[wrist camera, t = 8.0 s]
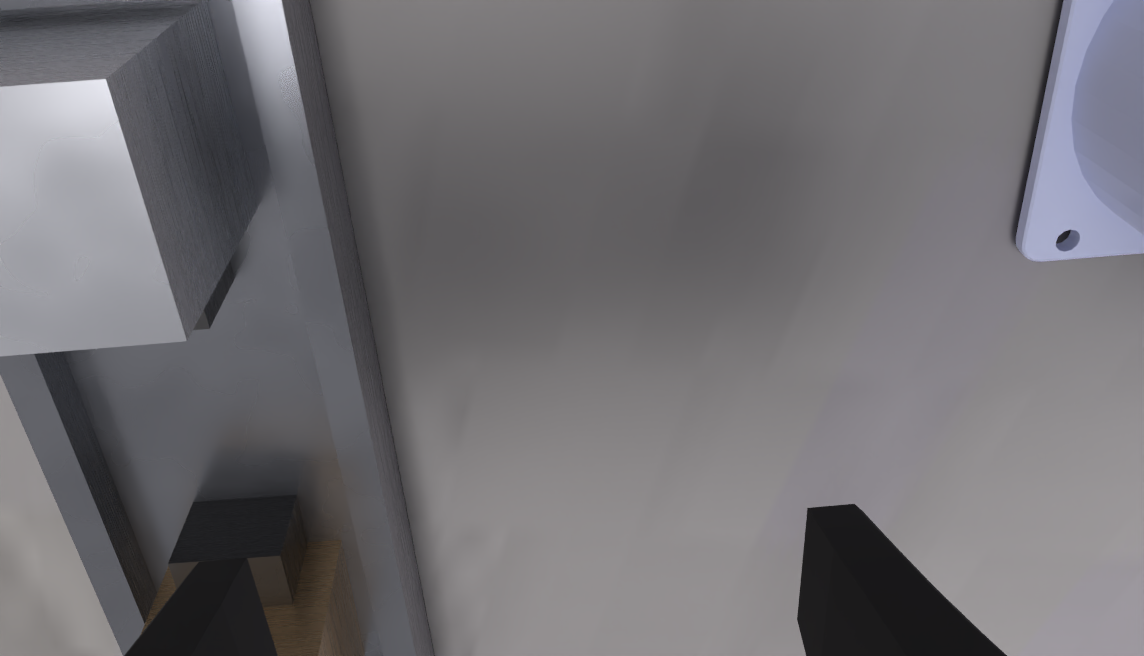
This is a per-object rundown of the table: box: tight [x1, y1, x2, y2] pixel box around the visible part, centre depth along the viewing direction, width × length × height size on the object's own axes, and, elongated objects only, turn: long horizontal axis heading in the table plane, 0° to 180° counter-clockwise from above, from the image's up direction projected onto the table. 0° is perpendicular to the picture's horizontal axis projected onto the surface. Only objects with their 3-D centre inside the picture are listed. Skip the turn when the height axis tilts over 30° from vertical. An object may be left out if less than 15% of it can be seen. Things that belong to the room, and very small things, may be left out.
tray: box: [0, 0, 434, 656], centre depth 21 cm, size 7×20×2 cm, turn 3°
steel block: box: [0, 0, 258, 356], centre depth 16 cm, size 4×6×5 cm
